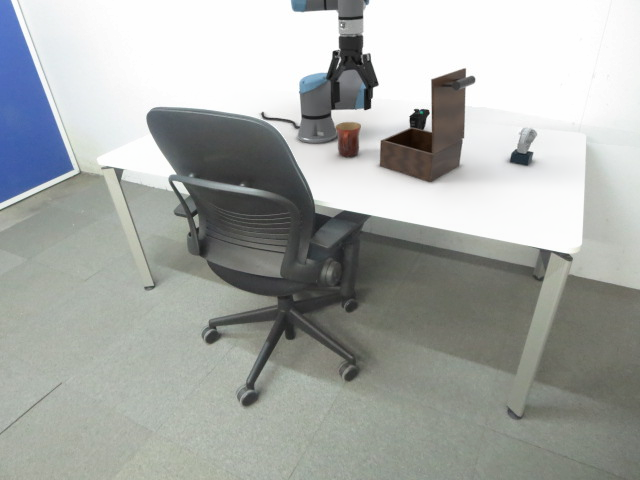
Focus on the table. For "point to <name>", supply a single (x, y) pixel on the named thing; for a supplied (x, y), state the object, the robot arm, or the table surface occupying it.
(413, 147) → the chest
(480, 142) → the table surface
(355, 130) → the mug
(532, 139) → the white bust statue
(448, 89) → the lid
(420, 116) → the controller
